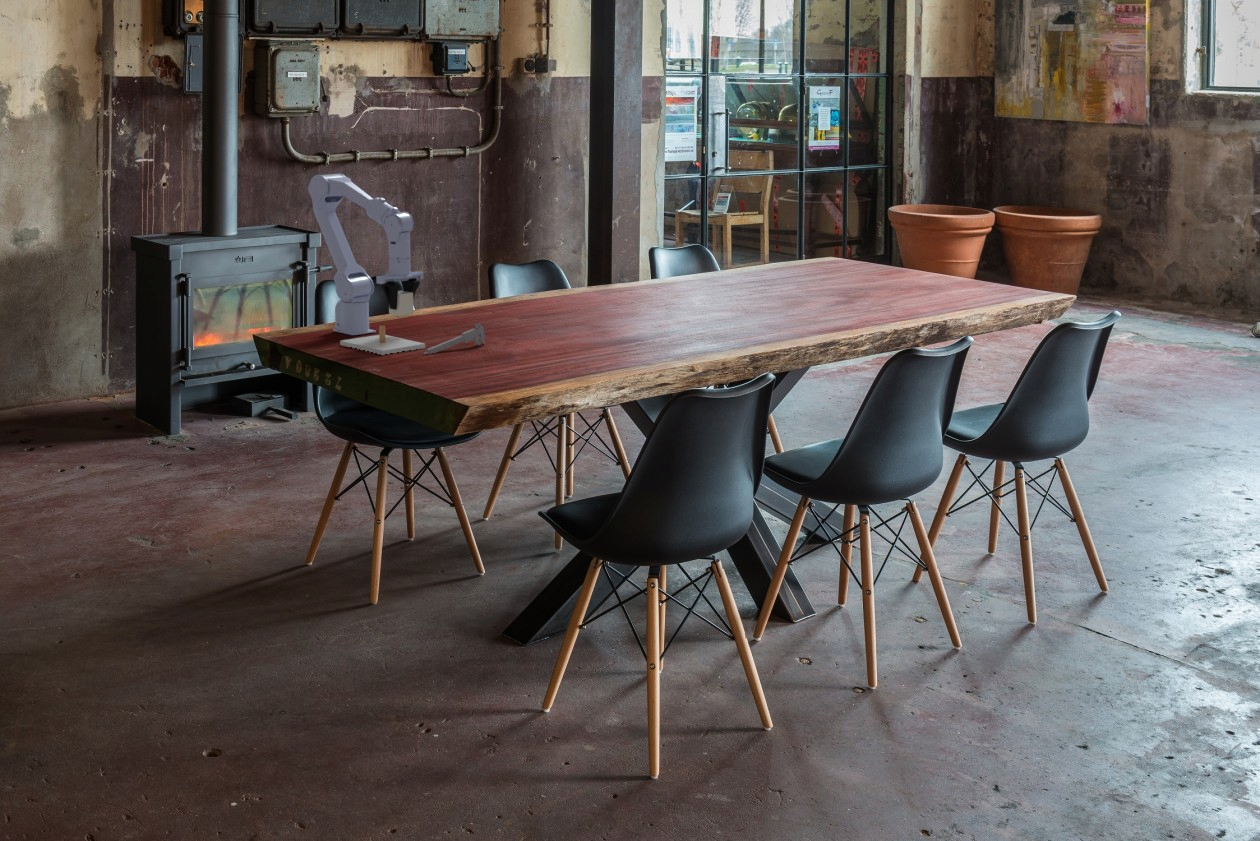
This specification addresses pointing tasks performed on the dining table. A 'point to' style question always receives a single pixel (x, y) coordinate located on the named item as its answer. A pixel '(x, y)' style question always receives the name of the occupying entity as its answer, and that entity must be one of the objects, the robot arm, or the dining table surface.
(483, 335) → the caliper
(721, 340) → the dining table surface
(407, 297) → the cream rectangular prism
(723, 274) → the dining table surface
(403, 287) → the robot arm
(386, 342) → the light gray slab
